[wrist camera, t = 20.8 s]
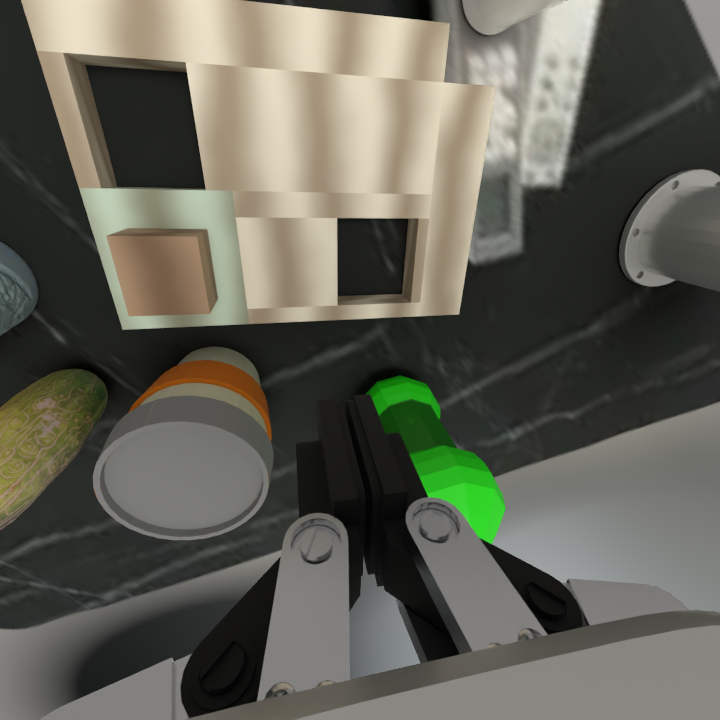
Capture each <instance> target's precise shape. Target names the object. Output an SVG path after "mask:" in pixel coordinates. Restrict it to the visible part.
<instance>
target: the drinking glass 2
mask: <svg viewBox="0 0 720 720" xmlns="http://www.w3.org/2000/svg"><path fill="white" fill-rule="evenodd" d="M565 1H567V0H462V3H463V9H464V13H465V16H466V18H467V20H468V22H469V23H470V25H471V26H472V27H473V28H474V29H475V30H476V31H478V32H479V33H481V34H485V35H495V34H498V33H501V32H503V31H505V30H506V29H508V28H509V27H511V26H513V25H514V24H516V23H519V22H521V21H523V20H525V19H527V18H529V17H532V16H534V15H536V14H538V13H540V12H543V11H545V10H547V9H549V8H552V7H554V6H556V5H558V4H561V3H563V2H565Z"/></svg>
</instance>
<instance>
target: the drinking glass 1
mask: <svg viewBox="0 0 720 720" xmlns="http://www.w3.org/2000/svg"><path fill="white" fill-rule="evenodd" d="M38 297H39V292H38V285H37V282H36V278H35V276H34V274H33V272H32V270H31V269H30V267H29V266H28V264H27V263H26V262H25V261H24V260H23V259H22V258H21V257H20V256H19V255H18V254H17V253H16V252H15V251H14V250H13V249H11V248H10V247H9V246H7V245H6V244H4V243H2V242H1V241H0V336H1V335H2V334H3V333H5V332H7V331H8V330H9V329H11V328H12V327H14V326H16V325H17V324H19V323H20V322H22V321H23V320H25V319H26V318H27V317H28V316H29V315H30V314H31V313H32V311H33V310H34V308H35V306H36V304H37V302H38Z"/></svg>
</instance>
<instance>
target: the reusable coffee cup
mask: <svg viewBox="0 0 720 720" xmlns="http://www.w3.org/2000/svg"><path fill="white" fill-rule="evenodd" d="M273 460H274V459H273V448H272V445H271V425H270V419H269V412H268V406H267V401H266V398H265V394H264V392H263V390H262V389H261V386H260V379H259V375H258V372H257V370H256V368H255V367H254V365H253V364H252V363H251V362H250V360H249V359H247V358H246V357H245V356H244V355H242V354H240V353H238V352H236V351H234V350H231V349H228V348H223V347H206V348H201V349H198V350H195V351H193V352H191V353H190V354H188V355H187V356H185V357H184V358H183V359H182V360H181V361H180V362H179V364H178V365H177V366H174V367H172V368H171V369H169V370H168V371H166V372H165V373H163V374H162V375H161V376H160V377H159V378H158V379H157V380H156V381H155V382H154V383H153V384H152V385H151V386H150V387H149V389H148V390H147V391H146V392H145V393H144V394H143V395H142V396H141V397H140V398H139V399H138V400H137V401H136V402H135V403H134V404H133V406H132V407H131V409H130V411H129V413H128V414H126V415H125V416H124V417H123V418H122V419H121V420H120V421H119V422H118V423H117V424H116V425H115V426H114V428H113V430H112V432H111V433H110V435H109V437H108V439H107V441H106V443H105V445H104V448H103V450H102V452H101V454H100V456H99V458H98V461H97V463H96V466H95V470H94V474H93V486H94V491H95V493H96V496H97V499H98V501H99V502H100V504H101V505H102V507H103V508H104V509H105V511H106V512H107V513H108V514H109V515H111V516H112V517H113V518H114V519H115V520H116V521H118V522H119V523H121V524H123V525H124V526H126V527H128V528H129V529H132V530H134V531H137V532H139V533H142V534H144V535H148V536H152V537H156V538H162V539H170V540H195V539H203V538H208V537H212V536H216V535H220V534H223V533H225V532H228V531H230V530H233V529H234V528H236V527H238V526H240V525H241V524H243V523H245V522H246V521H247V520H248V519H250V518H251V517H252V516H253V515H254V514H255V513H256V512H257V511H258V509H259V508H260V507H261V506H262V504H263V502H264V500H265V498H266V496H267V491H268V487H269V482H270V476H271V471H272V466H273Z"/></svg>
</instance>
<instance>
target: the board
mask: <svg viewBox="0 0 720 720" xmlns="http://www.w3.org/2000/svg"><path fill="white" fill-rule="evenodd" d="M21 1H22V4H23V8H24V11H25V14H26V17H27V21H28V24H29V27H30V30H31V34H32V37H33V40H34V43H35V47H36V50H37V53H38V56H39V60H40V63H41V66H42V69H43V73H44V76H45V79H46V82H47V86H48V89H49V92H50V95H51V99H52V102H53V105H54V108H55V112H56V115H57V118H58V121H59V125H60V128H61V131H62V134H63V138H64V141H65V144H66V147H67V150H68V154H69V157H70V160H71V163H72V167H73V170H74V173H75V176H76V180H77V183H78V186H79V189H80V193H81V196H82V199H83V202H84V206H85V209H86V212H87V215H88V219H89V222H90V225H91V228H92V232H93V235H94V238H95V241H96V245H97V248H98V251H99V254H100V258H101V261H102V264H103V267H104V271H105V274H106V277H107V280H108V284H109V287H110V290H111V293H112V297H113V300H114V303H115V306H116V309H117V313H118V316H119V319H120V322H121V326H122V329H123V330H127V329H149V328H171V327H193V326H215V325H237V324H259V323H281V322H303V321H325V320H347V319H369V318H391V317H413V316H435V315H457V314H459V311H460V305H461V299H462V293H463V287H464V280H465V274H466V268H467V262H468V256H469V250H470V244H471V237H472V231H473V225H474V219H475V213H476V207H477V201H478V194H479V188H480V182H481V176H482V170H483V164H484V158H485V152H486V145H487V139H488V133H489V127H490V121H491V115H492V109H493V102H494V96H495V90H496V86H483V85H470V84H457V83H445V82H444V76H445V67H446V57H447V48H448V39H449V29H450V23H442V22H432V21H423V20H414V19H405V18H396V17H387V16H378V15H369V14H360V13H351V12H342V11H332V10H323V9H314V8H305V7H296V6H287V5H278V4H269V3H260V2H251V1H242V0H21ZM85 65H95V66H109V67H122V68H136V69H150V70H163V71H177V72H187V75H188V81H189V87H190V93H191V100H192V106H193V112H194V119H195V125H196V131H197V137H198V144H199V150H200V156H201V162H202V169H203V175H204V181H205V188H206V189H194V188H143V187H117V184H116V180H115V176H114V172H113V168H112V165H111V161H110V157H109V153H108V149H107V146H106V142H105V138H104V134H103V130H102V127H101V123H100V119H99V115H98V111H97V108H96V104H95V100H94V96H93V92H92V89H91V85H90V81H89V77H88V73H87V70H86V66H85ZM337 218H408V230H407V242H406V254H405V266H404V278H403V291H402V294H387V295H357V296H337ZM127 228H157V229H207V231H208V237H209V244H210V250H211V257H212V263H213V270H214V276H215V282H216V289H217V295H218V300H217V302H216V304H215V305H214V307H213V309H212V311H211V313H210V314H192V315H158V316H129V315H128V312H127V308H126V305H125V301H124V298H123V294H122V290H121V287H120V283H119V280H118V276H117V273H116V269H115V265H114V262H113V258H112V255H111V251H110V248H109V244H108V241H107V237H106V236H107V235H110V234H113V233H116V232H119V231H121V230H124V229H127Z"/></svg>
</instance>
